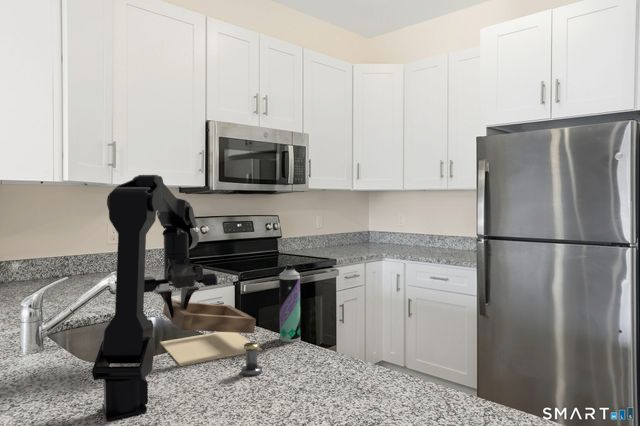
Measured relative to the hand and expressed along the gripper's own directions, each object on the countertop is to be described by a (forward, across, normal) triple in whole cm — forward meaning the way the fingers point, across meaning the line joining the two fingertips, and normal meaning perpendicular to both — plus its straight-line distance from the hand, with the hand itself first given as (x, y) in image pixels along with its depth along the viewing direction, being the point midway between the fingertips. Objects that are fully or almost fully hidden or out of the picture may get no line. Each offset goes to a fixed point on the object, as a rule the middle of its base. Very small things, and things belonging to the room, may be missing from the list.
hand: (177, 316), depth 109 cm
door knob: (+9, +10, -22) cm, 26 cm away
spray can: (+9, +28, -6) cm, 30 cm away
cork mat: (+9, +8, 0) cm, 12 cm away
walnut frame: (+3, +7, 0) cm, 8 cm away
